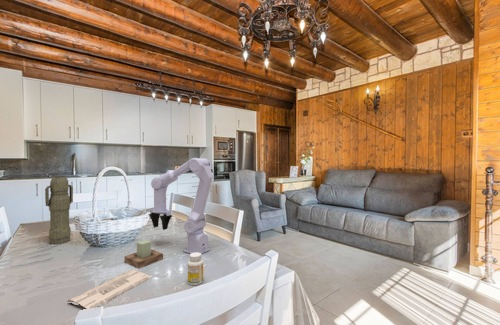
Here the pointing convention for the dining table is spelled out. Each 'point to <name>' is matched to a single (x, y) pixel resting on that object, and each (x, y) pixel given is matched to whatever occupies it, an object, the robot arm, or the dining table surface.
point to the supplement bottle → (195, 269)
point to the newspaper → (110, 289)
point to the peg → (143, 249)
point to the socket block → (143, 259)
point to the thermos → (59, 209)
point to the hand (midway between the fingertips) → (160, 228)
